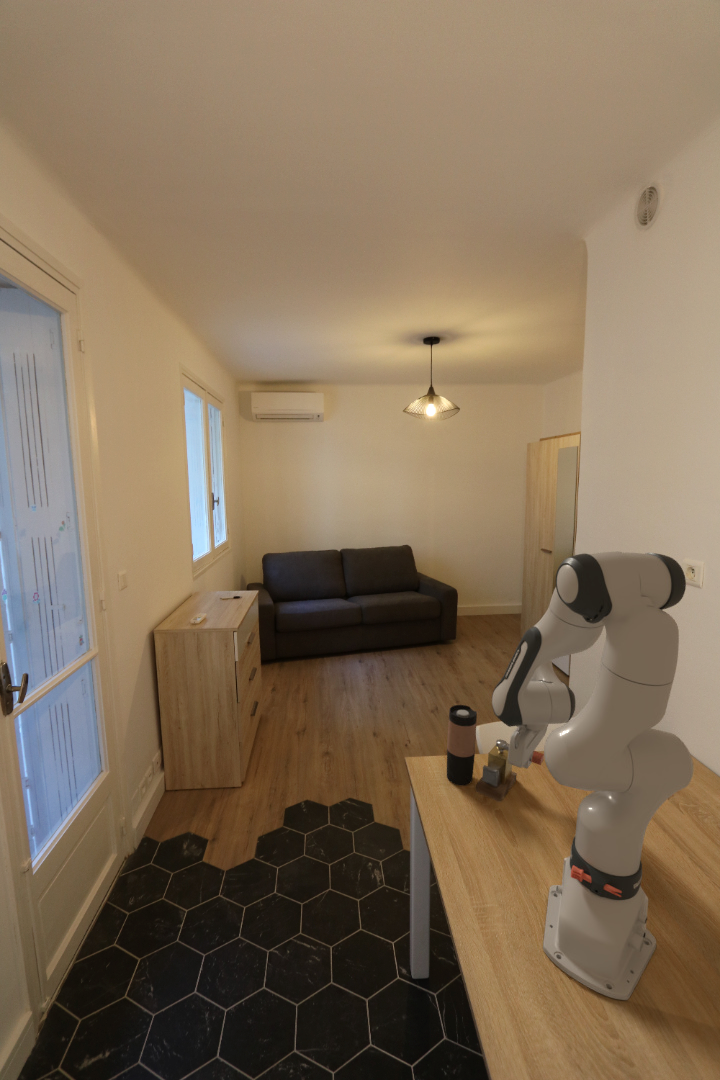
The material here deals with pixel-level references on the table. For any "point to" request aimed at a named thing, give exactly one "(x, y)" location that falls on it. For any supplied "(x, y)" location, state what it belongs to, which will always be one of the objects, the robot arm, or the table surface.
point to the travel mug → (461, 744)
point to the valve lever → (536, 756)
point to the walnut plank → (493, 791)
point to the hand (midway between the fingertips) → (526, 765)
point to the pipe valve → (497, 767)
